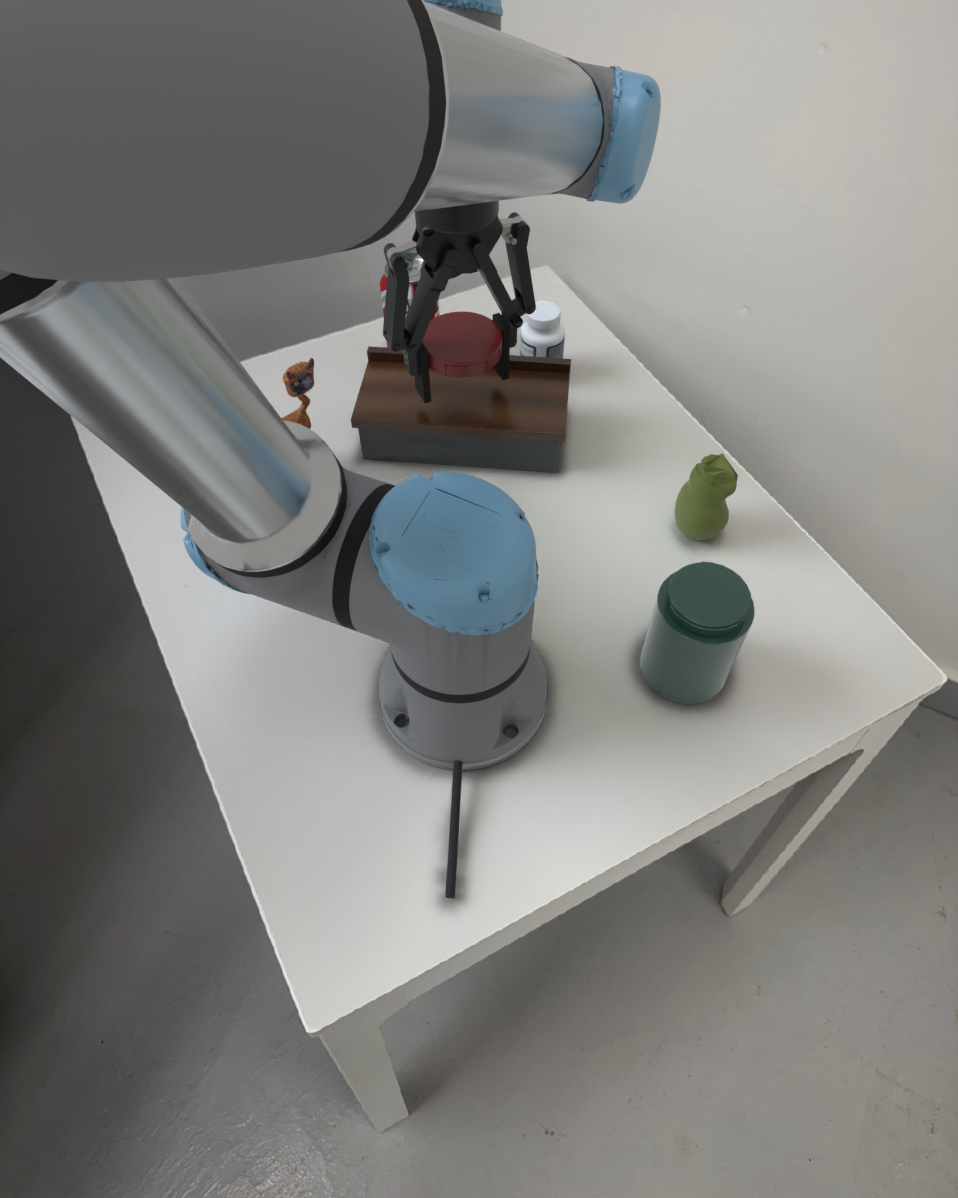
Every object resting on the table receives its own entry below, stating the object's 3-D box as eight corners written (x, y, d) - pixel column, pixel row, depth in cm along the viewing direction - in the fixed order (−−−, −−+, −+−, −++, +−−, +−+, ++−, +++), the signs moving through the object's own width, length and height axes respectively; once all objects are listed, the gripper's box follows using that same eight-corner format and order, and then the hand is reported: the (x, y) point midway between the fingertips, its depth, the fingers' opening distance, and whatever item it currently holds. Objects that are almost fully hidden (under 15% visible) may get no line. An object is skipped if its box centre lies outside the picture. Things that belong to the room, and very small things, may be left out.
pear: (662, 516, 88) (680, 447, 80) (708, 506, 88) (730, 436, 80) (683, 555, 84) (704, 487, 76) (731, 544, 85) (756, 476, 77)
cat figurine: (211, 554, 85) (170, 458, 74) (177, 520, 88) (132, 422, 77) (347, 467, 92) (328, 367, 81) (311, 438, 95) (288, 338, 84)
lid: (409, 338, 87) (407, 323, 85) (482, 318, 89) (482, 303, 87) (439, 386, 82) (438, 371, 81) (515, 364, 84) (515, 348, 83)
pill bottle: (562, 360, 103) (568, 298, 96) (560, 387, 100) (566, 325, 93) (520, 358, 104) (522, 295, 96) (517, 385, 100) (519, 322, 93)
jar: (729, 708, 74) (764, 638, 65) (639, 700, 75) (661, 629, 65) (723, 634, 79) (755, 559, 69) (639, 627, 79) (659, 551, 70)
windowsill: (561, 476, 91) (566, 425, 85) (357, 461, 93) (348, 410, 87) (566, 410, 98) (571, 358, 92) (375, 397, 99) (368, 346, 93)
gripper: (546, 127, 75) (535, 338, 93) (323, 177, 70) (358, 389, 88) (585, 164, 71) (565, 377, 89) (351, 220, 66) (381, 433, 84)
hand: (462, 383), depth 89 cm, fingers closed on lid, 8 cm apart
